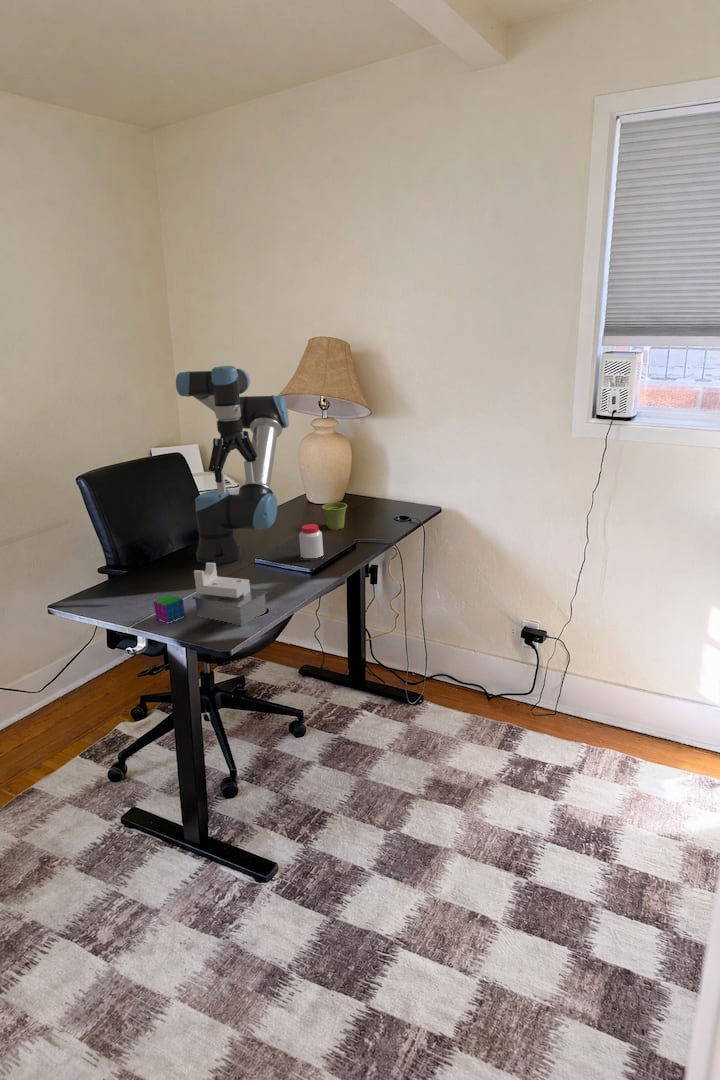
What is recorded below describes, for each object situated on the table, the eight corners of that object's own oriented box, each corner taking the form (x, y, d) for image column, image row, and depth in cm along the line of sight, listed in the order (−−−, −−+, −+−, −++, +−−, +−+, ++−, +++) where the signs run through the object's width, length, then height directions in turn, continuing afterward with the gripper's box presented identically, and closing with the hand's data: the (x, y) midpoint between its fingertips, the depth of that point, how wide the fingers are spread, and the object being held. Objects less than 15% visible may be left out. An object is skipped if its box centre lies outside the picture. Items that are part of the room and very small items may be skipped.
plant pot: (345, 531, 273) (344, 509, 270) (321, 531, 274) (319, 509, 272) (350, 524, 281) (349, 502, 279) (326, 524, 283) (324, 502, 280)
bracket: (197, 596, 204) (193, 571, 202) (210, 587, 211) (207, 562, 208) (237, 601, 200) (234, 575, 197) (250, 591, 206) (247, 566, 203)
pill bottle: (320, 561, 244) (318, 530, 240) (298, 561, 245) (295, 529, 242) (326, 553, 251) (324, 523, 247) (304, 553, 252) (302, 522, 249)
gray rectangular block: (194, 616, 206) (192, 597, 204) (222, 600, 216) (220, 582, 214) (242, 627, 198) (239, 607, 196) (269, 610, 207) (267, 591, 205)
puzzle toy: (185, 617, 206) (182, 598, 204) (168, 624, 202) (165, 605, 200) (173, 613, 209) (170, 594, 208) (156, 620, 205) (153, 601, 204)
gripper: (210, 426, 209) (219, 498, 216) (264, 412, 229) (270, 478, 236) (191, 425, 213) (199, 495, 219) (245, 411, 233) (251, 476, 240)
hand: (236, 487), depth 228 cm, fingers open, 13 cm apart
